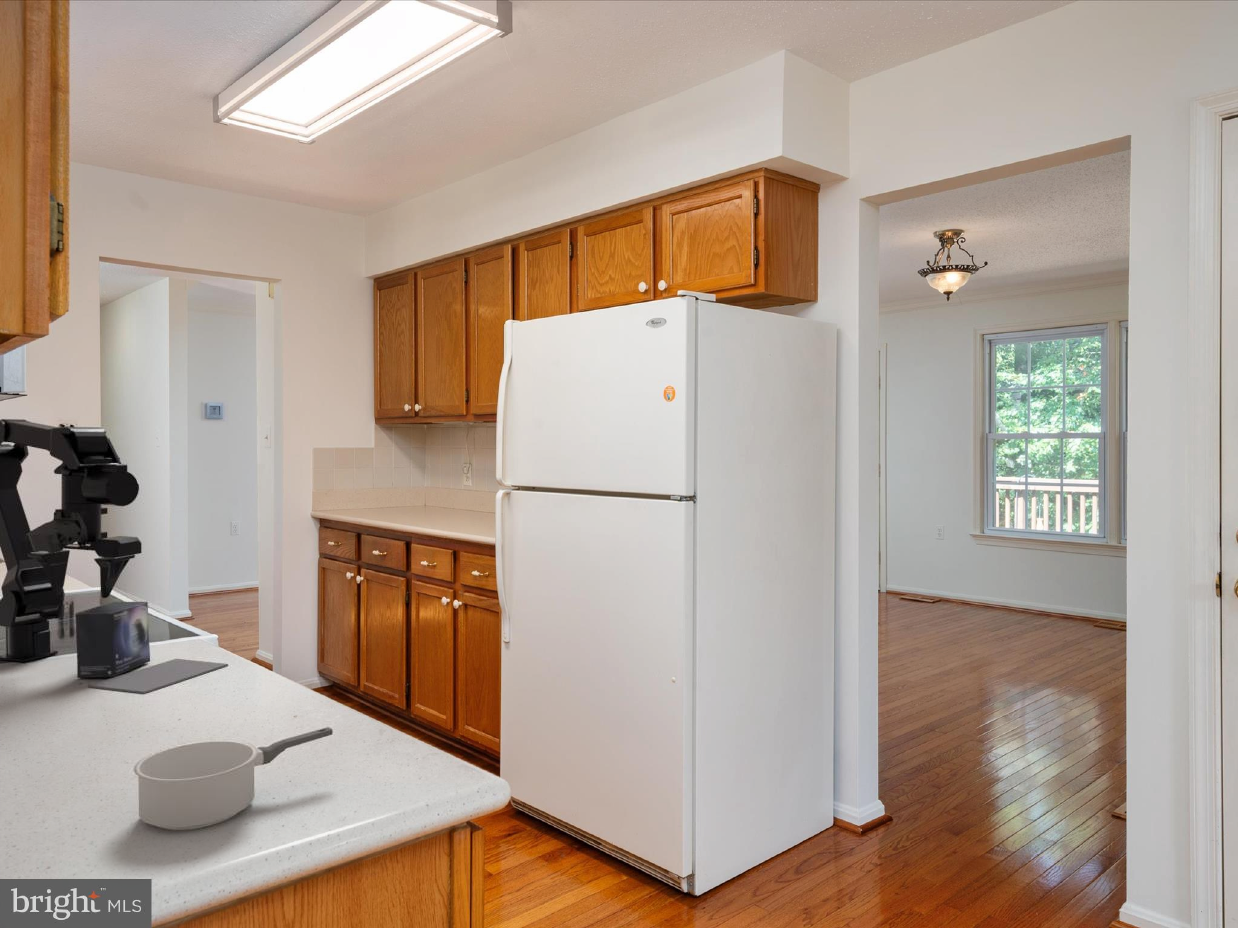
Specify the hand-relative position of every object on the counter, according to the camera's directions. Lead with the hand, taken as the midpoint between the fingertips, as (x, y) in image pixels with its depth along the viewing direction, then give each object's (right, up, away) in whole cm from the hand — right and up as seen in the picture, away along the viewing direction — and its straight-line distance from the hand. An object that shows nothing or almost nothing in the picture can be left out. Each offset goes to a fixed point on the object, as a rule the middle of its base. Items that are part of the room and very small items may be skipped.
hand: (81, 595), depth 146 cm
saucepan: (+50, -14, -53) cm, 74 cm away
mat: (+16, -12, -5) cm, 21 cm away
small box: (+7, -12, -2) cm, 14 cm away
